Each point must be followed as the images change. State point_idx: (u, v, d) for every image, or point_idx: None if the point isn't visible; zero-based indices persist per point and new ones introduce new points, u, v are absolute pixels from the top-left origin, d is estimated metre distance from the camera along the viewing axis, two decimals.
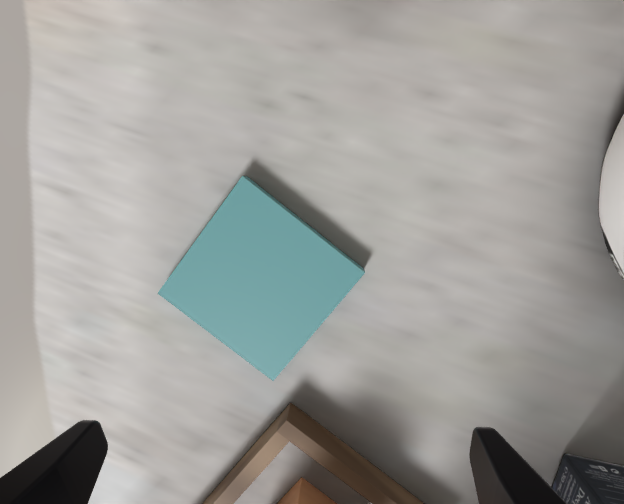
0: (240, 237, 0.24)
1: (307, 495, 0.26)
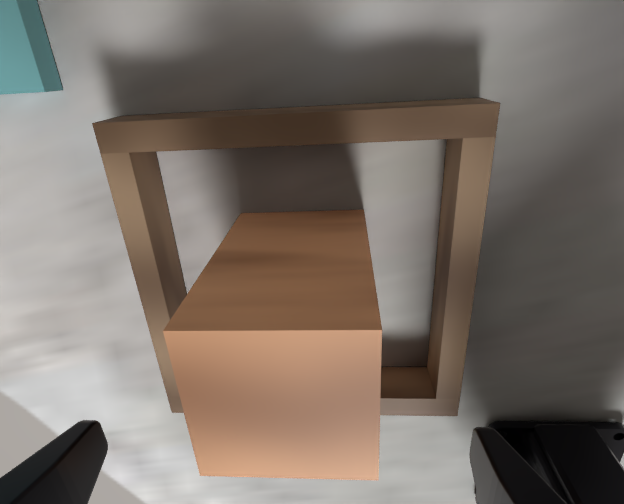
0: None
1: (250, 222, 0.15)
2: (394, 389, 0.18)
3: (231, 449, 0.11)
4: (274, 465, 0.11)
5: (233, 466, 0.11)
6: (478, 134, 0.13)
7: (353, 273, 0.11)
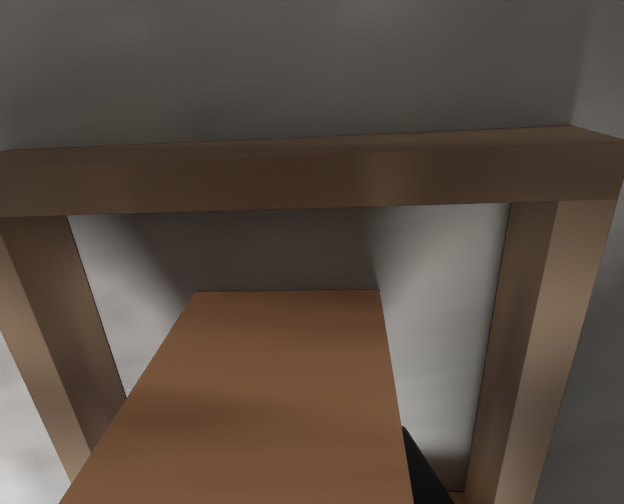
0: None
1: (205, 315, 0.10)
2: None
3: None
4: None
5: None
6: (587, 195, 0.07)
7: (371, 478, 0.06)
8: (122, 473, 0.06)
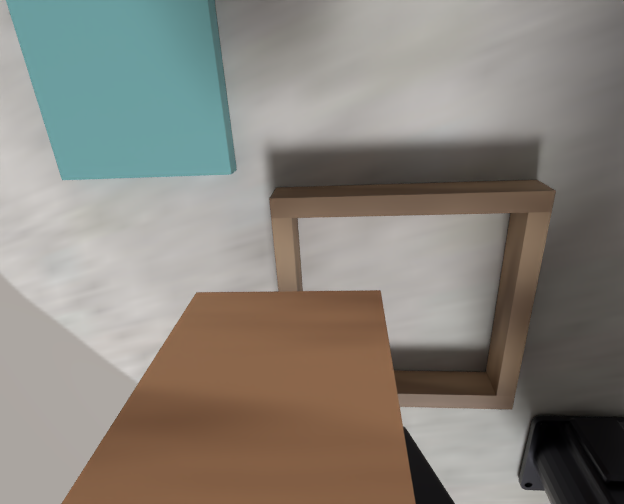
0: (62, 46, 0.18)
1: (206, 316, 0.10)
2: (463, 388, 0.24)
3: None
4: None
5: None
6: (539, 210, 0.18)
7: (372, 480, 0.06)
8: (123, 475, 0.06)
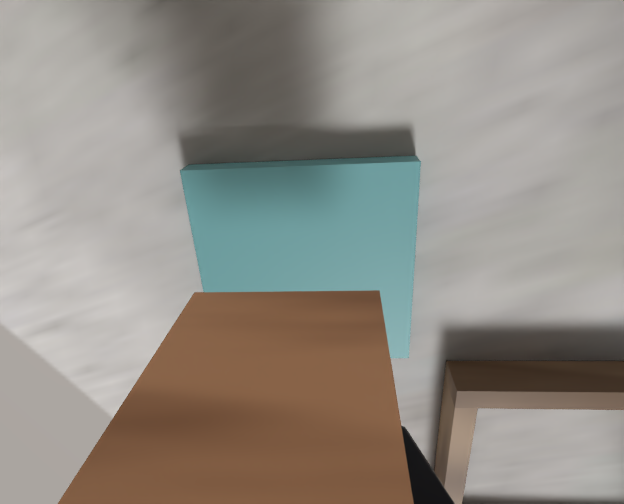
0: (242, 240, 0.16)
1: (204, 316, 0.10)
2: None
3: None
4: None
5: None
6: None
7: (370, 482, 0.06)
8: (119, 476, 0.06)
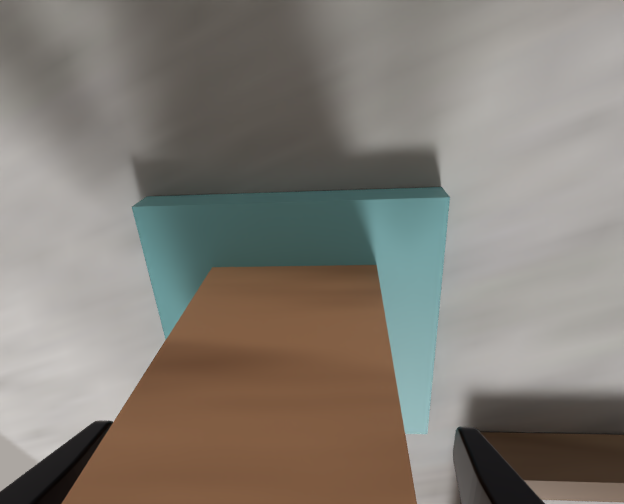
0: None
1: (222, 285, 0.11)
2: None
3: None
4: None
5: None
6: None
7: (367, 403, 0.07)
8: (163, 401, 0.07)
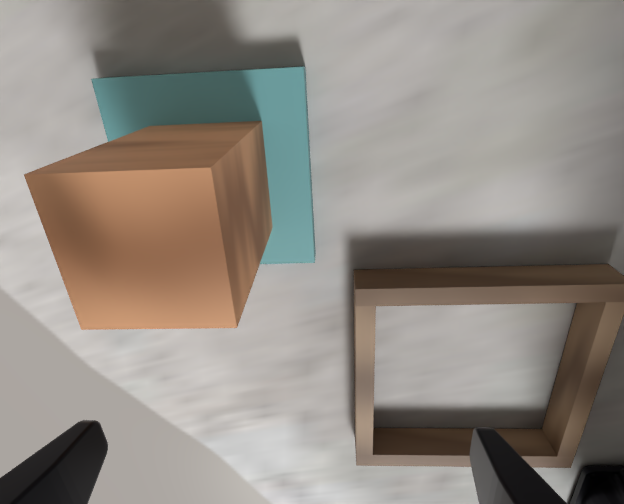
0: None
1: (153, 129, 0.17)
2: (524, 448, 0.25)
3: (103, 299, 0.12)
4: (144, 315, 0.12)
5: (108, 317, 0.12)
6: (616, 300, 0.19)
7: (216, 147, 0.13)
8: (101, 152, 0.13)
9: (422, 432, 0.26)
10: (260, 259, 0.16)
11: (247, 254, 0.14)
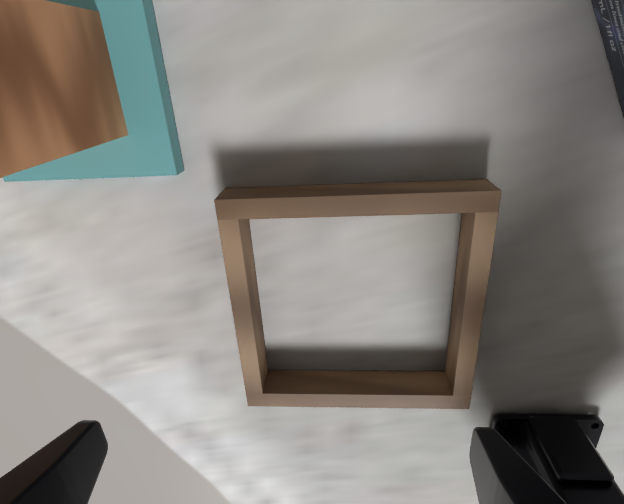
0: None
1: None
2: (420, 388, 0.24)
3: None
4: None
5: None
6: (486, 210, 0.18)
7: None
8: None
9: (320, 374, 0.25)
10: (84, 148, 0.16)
11: (39, 122, 0.13)
